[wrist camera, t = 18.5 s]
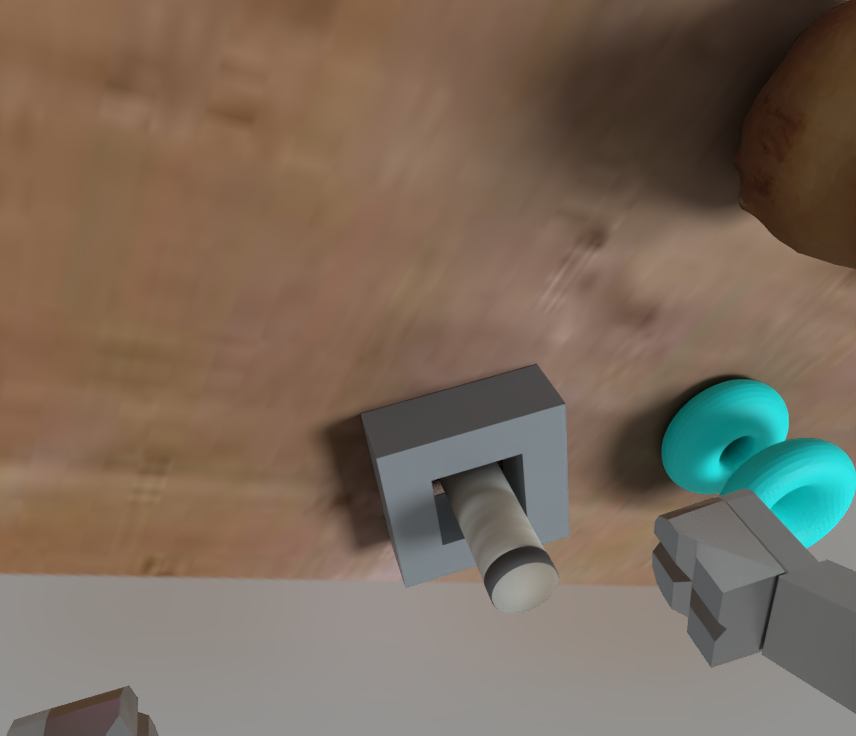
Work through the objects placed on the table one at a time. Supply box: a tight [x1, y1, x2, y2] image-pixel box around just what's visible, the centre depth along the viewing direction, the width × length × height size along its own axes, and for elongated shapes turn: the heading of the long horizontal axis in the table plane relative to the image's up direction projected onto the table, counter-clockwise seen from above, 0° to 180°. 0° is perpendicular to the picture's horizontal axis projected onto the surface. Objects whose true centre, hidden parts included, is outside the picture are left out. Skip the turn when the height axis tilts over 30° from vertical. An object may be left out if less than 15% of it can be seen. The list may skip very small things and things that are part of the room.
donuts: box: [661, 379, 856, 548], centre depth 55 cm, size 10×10×10 cm
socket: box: [361, 364, 569, 588], centre depth 51 cm, size 12×12×4 cm
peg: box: [439, 461, 559, 613], centre depth 48 cm, size 4×4×12 cm
